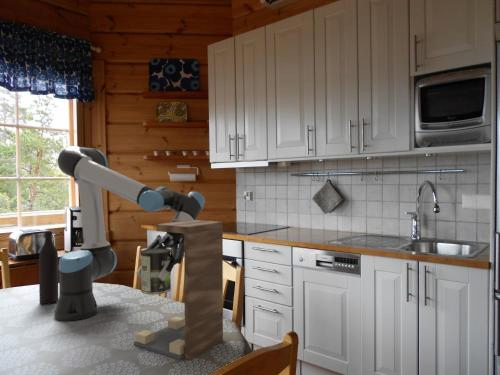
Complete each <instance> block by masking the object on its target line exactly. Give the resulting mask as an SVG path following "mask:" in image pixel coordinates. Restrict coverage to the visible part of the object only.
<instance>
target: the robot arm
mask: <svg viewBox="0 0 500 375" xmlns="http://www.w3.org/2000/svg"><path fill="white" fill-rule="evenodd" d="M58 154H59V155H58V158H57V165H58V168H59V170H61V172H62V173H63V174H65V175H66V176H68V177H72V178H73V181H74V183H75V184H77V185H78V192H79V193H78V194H79V203H80V214H81V224H82V238H83V243H82V245H81V246H80V249H79V250H74V251H69V252H66V253H64V254H63V255H61V256H60V258H59V259H58V302H56V305H55V308H54V315H53V316H54V318H55V319H56V320H58V321H64V322H67V321H79V320H84V319H88V318H91V317H93V316H95V315H96V314H97V313H98V310H99V309H98V306H99V305H98V303H97V301H96V298H95V295H94V291H93V284H94V283H93V282H94V281H96V280H99V279H101V278H104V277H106V276H108V275H110V274H111V273H112V272H113V271H114V270H115V268H116V266H117V262H118V259H117V258H118V257H117V254H116V251H114V250H113V249H112V247H111V243H110V242H109V241H107V238H106V227H105V218H104V217H105V216H104V215H105V214H104V205H103V204H104V203H103V194H102V189H104V190H106V191H108V192H111V193H112V194H116V195H118V196H119V197H120V198H121V197H122V198H123V199H126V200H128V201H130V202H132V203H134V204H136V205H139V206H140V208H141V209H142V210H143V211H145V212H149V213H154V212H157V211H158V212H159V211H163V210H164V211H165V210H169V211H173V212H176V214H175V215H174V216H173V218H172V220H171V222H178V221H185V220H197V218H198V216H199V215H200V213H201V212H202V210H203V207H204V206H205V203H206V199H205V197H204V195H203V194H201V193H200V192H198V191H196V190H195V191H190V192H189V193H188V194H184V193H182V192H178V191H176V190H173V189H170V188H169V187H164V186H157V188H156V189H154V188H153V187H151V186H148V185H146V184H144V183H142V182H140V181H138V180H135V179H133V178H132V177H128V176H126V175H124V174H121V173H120V172H117V171H115V170H113V169H111V168H109V162H108V159H107V158H108V157H107V156H106V155H105V154H104V153H103V152H102V151H101V150H99V149H96V148H93V147H83V146H76V145H73V146H68V147H65V148H64V149H63V150H61V152H60V153H58ZM155 248H164V249H169V248H170V250H171V252H170V259H169V260H170V261H167V262H166V264H165V266H164V268H163V269H162V271H161V273H160V274H159V276H158V277H159V278H160V279H161V280H162V281H164V280H165V279H166V277H167V275H168V273H169V272H170V273H171V272H172V270H173V268H174V266H175V265H177V264H178V265H180V264H181V263H182V261H183V259H184V234H183V233H173V232H165V234H164V235H161V234H158V235H156V237H155V239H154V240H153V242H152V243H151V244H150V245H148V247H147V248H146V249H155ZM135 273H136V275H137V276H138V277H139V278H141V263H140V265H139V267H138V269H137V270H136V272H135Z"/></svg>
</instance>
